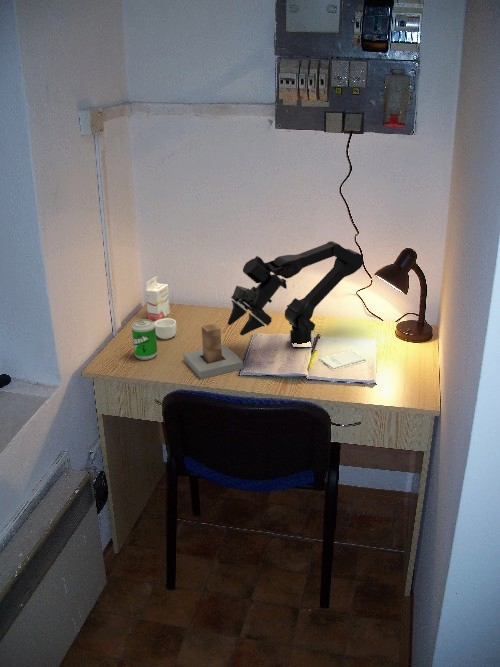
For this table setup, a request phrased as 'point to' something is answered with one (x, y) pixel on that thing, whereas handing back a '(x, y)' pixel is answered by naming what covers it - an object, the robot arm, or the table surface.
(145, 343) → the soda can
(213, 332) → the walnut pillar
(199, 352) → the socket base
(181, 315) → the table surface
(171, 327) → the teacup
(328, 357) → the external hard drive
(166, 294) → the milk carton
